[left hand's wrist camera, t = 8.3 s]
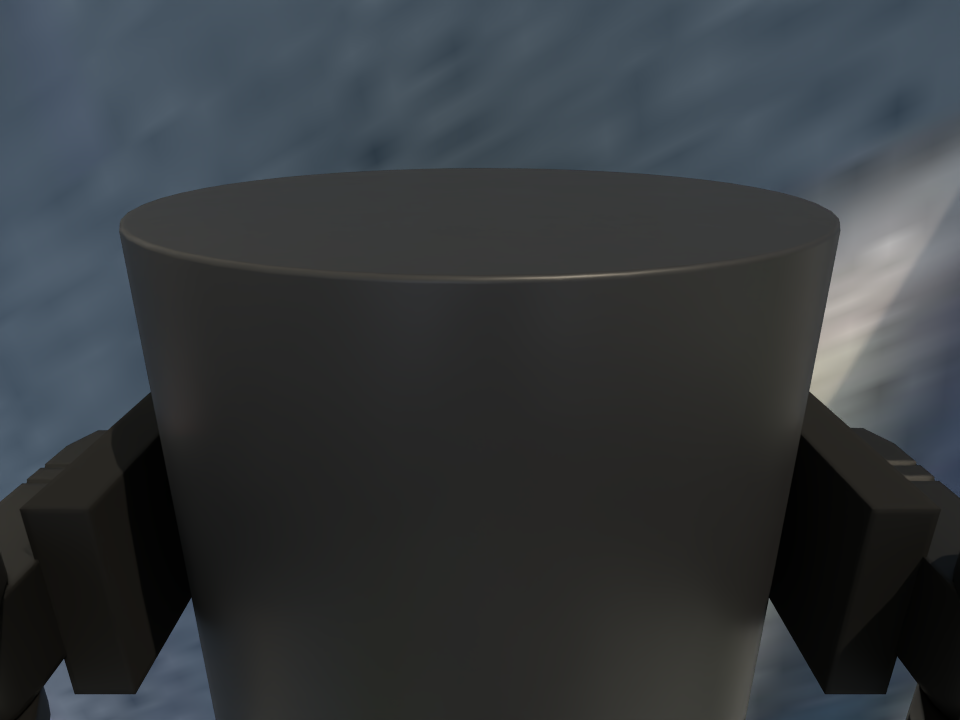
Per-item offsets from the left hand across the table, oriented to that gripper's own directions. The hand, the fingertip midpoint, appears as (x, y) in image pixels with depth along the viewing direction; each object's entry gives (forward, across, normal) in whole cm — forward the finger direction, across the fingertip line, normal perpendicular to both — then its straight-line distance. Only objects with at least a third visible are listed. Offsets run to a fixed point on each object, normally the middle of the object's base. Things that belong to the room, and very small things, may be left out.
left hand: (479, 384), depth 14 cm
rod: (+1, 0, -9) cm, 9 cm away
